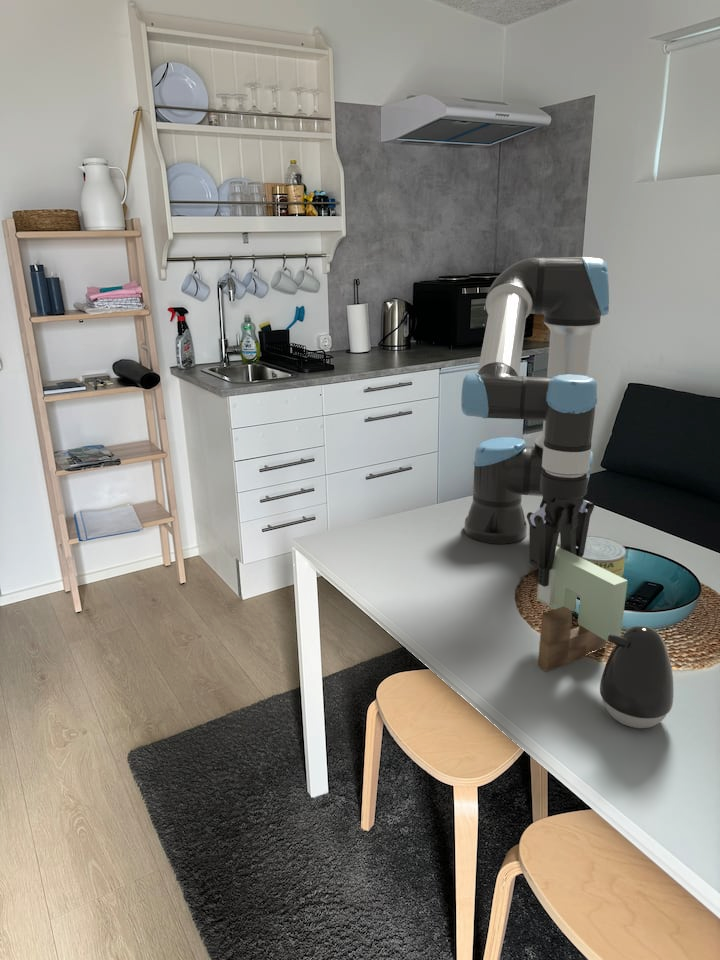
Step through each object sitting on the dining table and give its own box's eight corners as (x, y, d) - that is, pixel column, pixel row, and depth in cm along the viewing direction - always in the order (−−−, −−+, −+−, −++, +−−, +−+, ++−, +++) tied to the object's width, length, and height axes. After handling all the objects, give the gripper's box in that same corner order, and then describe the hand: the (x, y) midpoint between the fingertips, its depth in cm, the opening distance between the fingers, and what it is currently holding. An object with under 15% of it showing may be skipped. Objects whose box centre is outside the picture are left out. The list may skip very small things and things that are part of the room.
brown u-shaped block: (596, 642, 124) (602, 592, 120) (605, 648, 122) (611, 597, 119) (537, 665, 117) (542, 613, 114) (546, 671, 116) (550, 619, 112)
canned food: (551, 606, 136) (556, 551, 132) (570, 584, 145) (575, 531, 141) (610, 623, 130) (617, 565, 126) (626, 598, 139) (633, 544, 135)
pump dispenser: (585, 697, 109) (594, 612, 104) (648, 693, 110) (661, 608, 105) (612, 741, 99) (625, 650, 94) (682, 736, 100) (698, 645, 95)
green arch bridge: (549, 595, 124) (553, 544, 121) (620, 636, 111) (627, 580, 108) (536, 599, 123) (540, 547, 120) (607, 641, 110) (614, 585, 106)
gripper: (582, 457, 120) (570, 578, 128) (511, 472, 113) (503, 600, 121) (617, 468, 114) (602, 595, 122) (544, 485, 107) (533, 619, 114)
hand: (553, 597), depth 121 cm, fingers closed on green arch bridge, 3 cm apart
